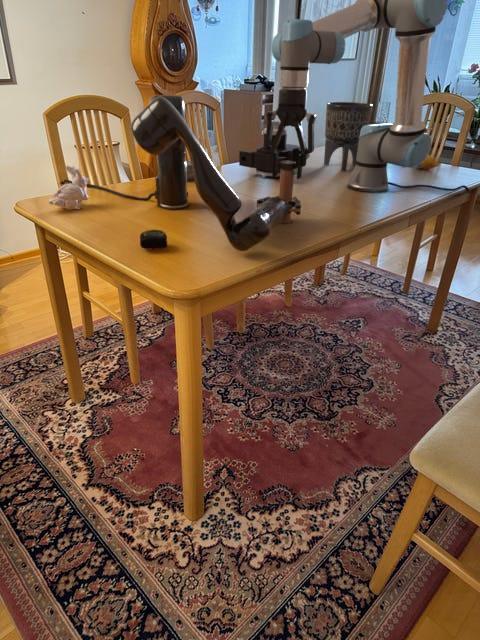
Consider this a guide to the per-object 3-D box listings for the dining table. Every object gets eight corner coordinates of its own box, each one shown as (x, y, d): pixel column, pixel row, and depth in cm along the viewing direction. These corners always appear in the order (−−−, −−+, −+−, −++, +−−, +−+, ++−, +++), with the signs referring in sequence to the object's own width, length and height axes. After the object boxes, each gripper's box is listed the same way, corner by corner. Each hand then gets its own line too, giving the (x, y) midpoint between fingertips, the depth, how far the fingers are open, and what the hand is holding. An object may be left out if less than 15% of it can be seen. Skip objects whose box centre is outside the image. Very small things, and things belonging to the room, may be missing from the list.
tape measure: (140, 252, 115) (139, 238, 113) (141, 242, 120) (140, 229, 119) (167, 251, 116) (166, 237, 114) (167, 241, 121) (166, 228, 120)
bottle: (290, 219, 141) (295, 163, 132) (289, 223, 137) (294, 166, 129) (278, 218, 141) (281, 162, 133) (276, 222, 138) (280, 165, 130)
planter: (313, 167, 208) (319, 103, 195) (331, 160, 222) (338, 101, 209) (353, 173, 199) (362, 107, 185) (369, 166, 213) (379, 104, 199)
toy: (413, 162, 205) (407, 155, 217) (415, 176, 208) (410, 168, 220) (439, 154, 201) (432, 147, 214) (441, 168, 204) (434, 161, 217)
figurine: (98, 204, 150) (92, 164, 144) (60, 215, 140) (52, 173, 133) (82, 200, 154) (76, 161, 148) (43, 210, 143) (35, 169, 137)
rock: (201, 174, 190) (201, 158, 187) (214, 178, 185) (214, 162, 181) (174, 179, 183) (173, 162, 179) (187, 183, 177) (186, 166, 174)
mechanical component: (240, 120, 182) (283, 115, 202) (239, 174, 192) (280, 164, 212) (283, 126, 170) (325, 120, 190) (280, 183, 180) (320, 171, 200)
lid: (281, 165, 134) (282, 159, 133) (297, 167, 133) (297, 161, 132) (277, 168, 130) (278, 162, 129) (293, 170, 129) (294, 164, 128)
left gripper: (296, 204, 121) (311, 189, 135) (246, 197, 125) (266, 184, 139) (293, 231, 125) (309, 214, 138) (245, 224, 129) (265, 208, 143)
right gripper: (332, 89, 121) (322, 177, 133) (262, 86, 127) (259, 170, 139) (326, 91, 115) (317, 182, 127) (254, 87, 121) (251, 175, 133)
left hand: (287, 199), depth 139 cm, fingers closed on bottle, 4 cm apart
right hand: (287, 176), depth 133 cm, fingers open, 7 cm apart
